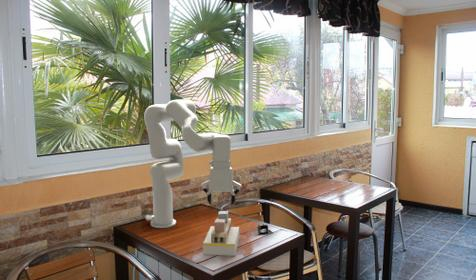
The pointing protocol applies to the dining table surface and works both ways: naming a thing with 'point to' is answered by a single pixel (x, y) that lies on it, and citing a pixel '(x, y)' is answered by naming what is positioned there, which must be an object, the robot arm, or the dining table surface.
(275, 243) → the dining table surface
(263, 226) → the black piece
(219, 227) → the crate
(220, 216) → the block
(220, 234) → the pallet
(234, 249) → the dock
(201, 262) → the dining table surface
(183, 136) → the robot arm
